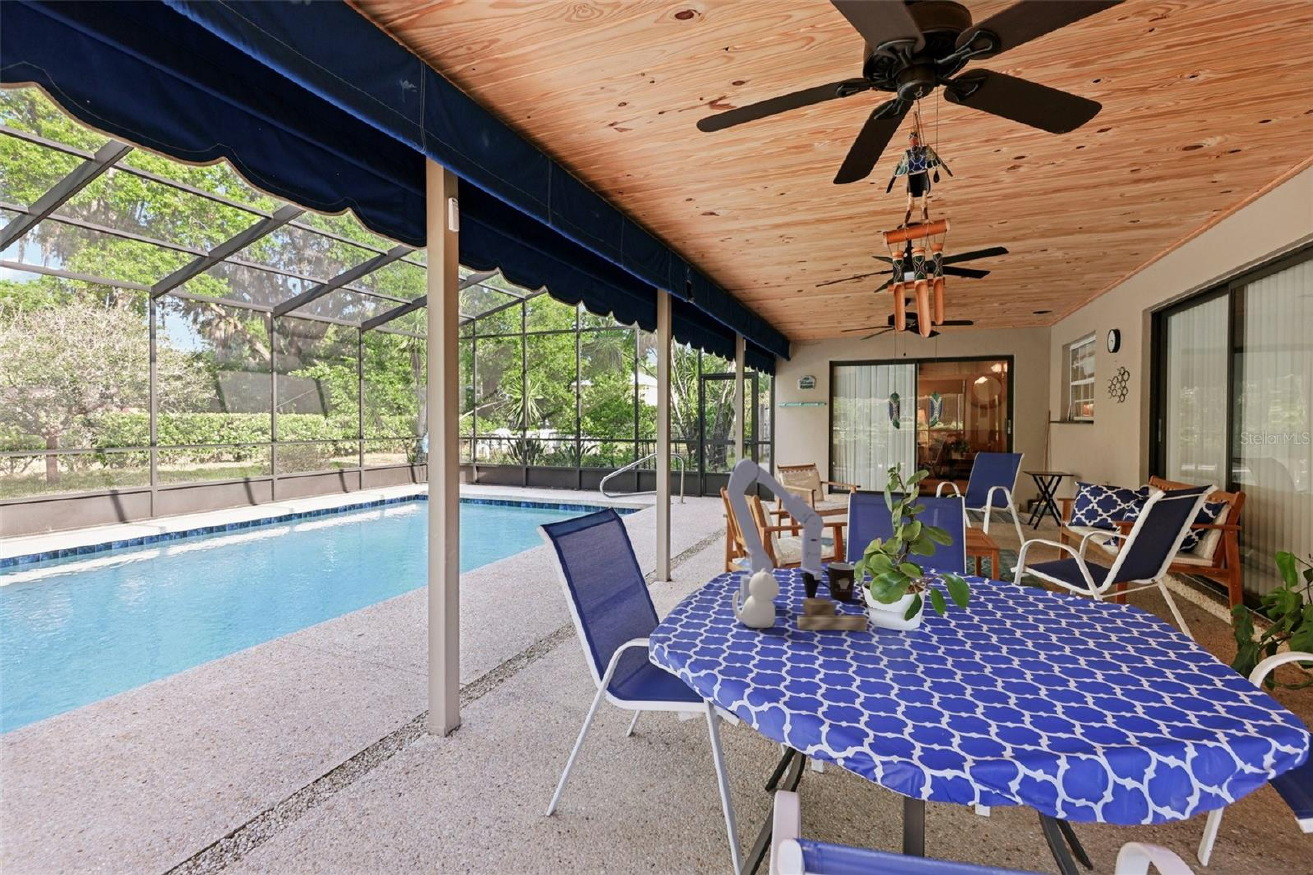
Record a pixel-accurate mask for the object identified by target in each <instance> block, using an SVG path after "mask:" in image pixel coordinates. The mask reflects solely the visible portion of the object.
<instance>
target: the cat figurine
mask: <svg viewBox="0 0 1313 875" xmlns="http://www.w3.org/2000/svg"><path fill="white" fill-rule="evenodd" d="M780 590H781V588H780V584H779V583H778V581H777V579H776V578H775V576H774V575H773V576H772V575H771V574H769V573H767V572H766V568H763V569H762V570H761V571H760V572H758V573H756V574H754V575H753V576H752V578H751V580H750V583H749V591H750V594H751V596H750V597H749V598H748V599H747V600H746V602H745V604H744V606H743V605H742V608H741V613H740V610H739V608H738V607H739V606H738V604H739V603H738V600H739V598H740V591H739V590H738V589H737V590H735V591H734V593H733V595H732V598H731V599H732V600H731V603H732V604H731V605H732V609H733V613H734V615H735V617H736V619H737V620H738V621H739V622H742V623H743V624H744V625H745V626H747V627H749V628H755V629H756V628H757V629H764V628H766V629H767V628H769V629H770V628H771V627H772V626H773V625H774V624H775V622H776V620H775V619H776V608H775V607H774V605H775V604H774V605H773V603H774V602H773V601H774V600H775V599H776V598H777V597H778V596H779V594H780ZM771 600H772V601H771ZM772 602H773V603H772Z"/></svg>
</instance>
